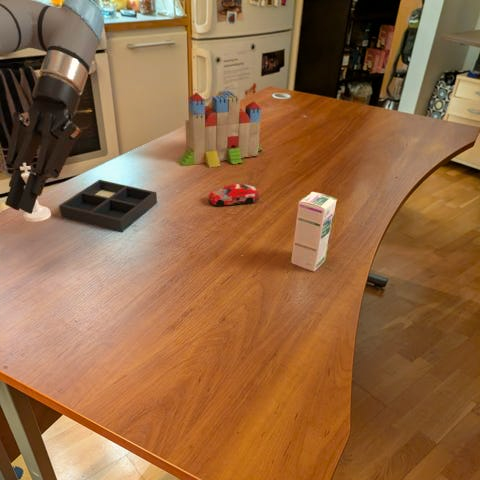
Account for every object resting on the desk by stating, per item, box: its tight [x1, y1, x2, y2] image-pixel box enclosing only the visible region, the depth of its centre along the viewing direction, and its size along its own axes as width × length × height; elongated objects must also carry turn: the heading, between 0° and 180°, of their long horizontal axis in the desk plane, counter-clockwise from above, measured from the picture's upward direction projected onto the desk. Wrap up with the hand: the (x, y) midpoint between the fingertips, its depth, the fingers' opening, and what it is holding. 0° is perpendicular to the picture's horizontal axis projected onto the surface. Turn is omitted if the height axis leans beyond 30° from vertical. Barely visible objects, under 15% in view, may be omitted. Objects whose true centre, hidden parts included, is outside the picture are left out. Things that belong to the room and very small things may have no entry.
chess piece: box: [20, 163, 52, 223], centre depth 83 cm, size 5×5×10 cm
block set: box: [178, 90, 264, 168], centre depth 136 cm, size 28×14×19 cm, turn 115°
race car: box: [207, 183, 260, 208], centre depth 118 cm, size 13×5×4 cm, turn 106°
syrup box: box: [290, 191, 337, 273], centre depth 94 cm, size 6×6×14 cm
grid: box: [58, 179, 158, 233], centre depth 111 cm, size 16×16×3 cm
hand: (18, 208), depth 82 cm, fingers closed on chess piece, 2 cm apart
